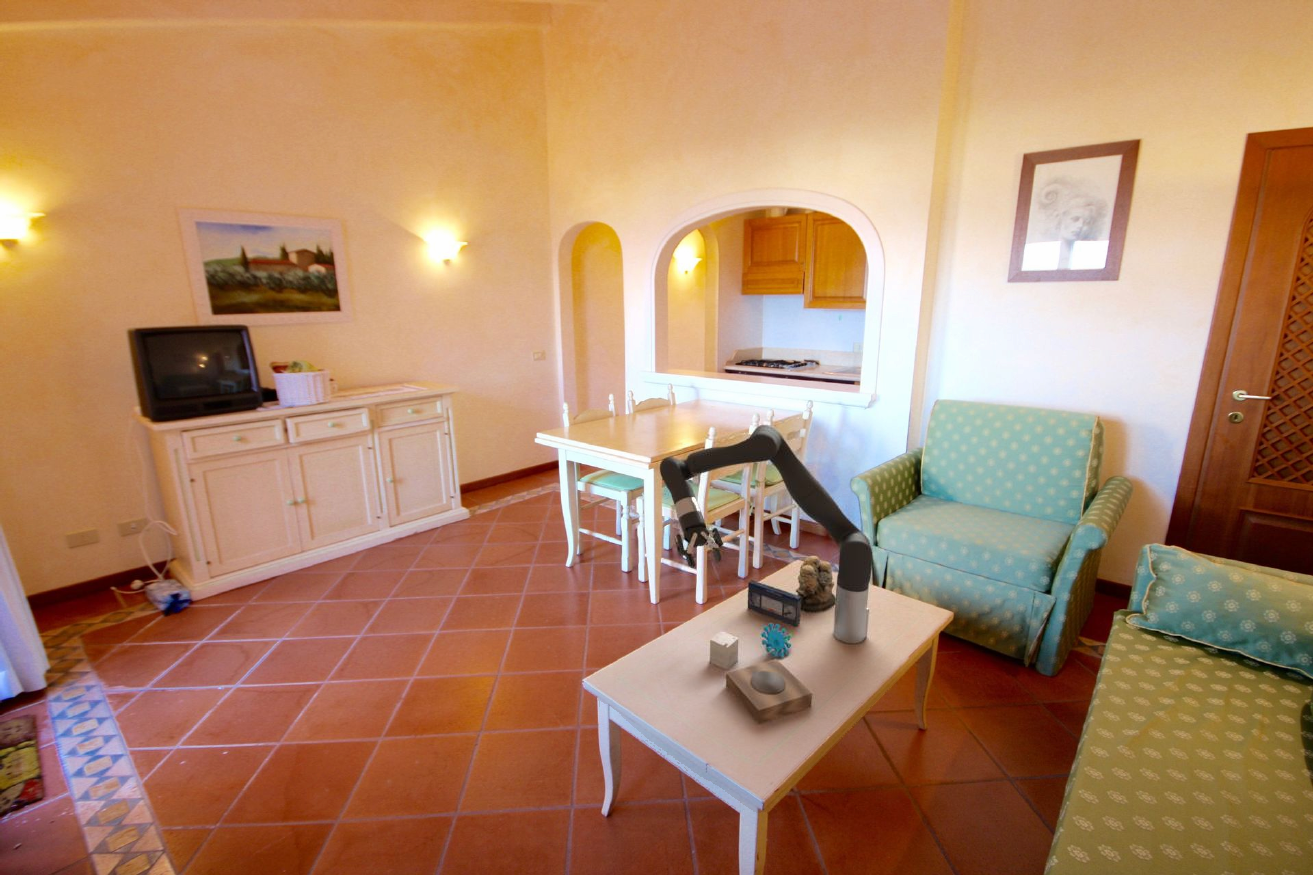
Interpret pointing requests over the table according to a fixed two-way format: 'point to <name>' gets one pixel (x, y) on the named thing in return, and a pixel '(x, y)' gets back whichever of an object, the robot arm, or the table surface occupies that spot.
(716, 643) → the skincare box
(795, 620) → the vhs cassette tape
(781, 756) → the table surface
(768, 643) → the gear
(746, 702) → the platform
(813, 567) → the owl figurine
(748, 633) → the table surface
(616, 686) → the table surface
